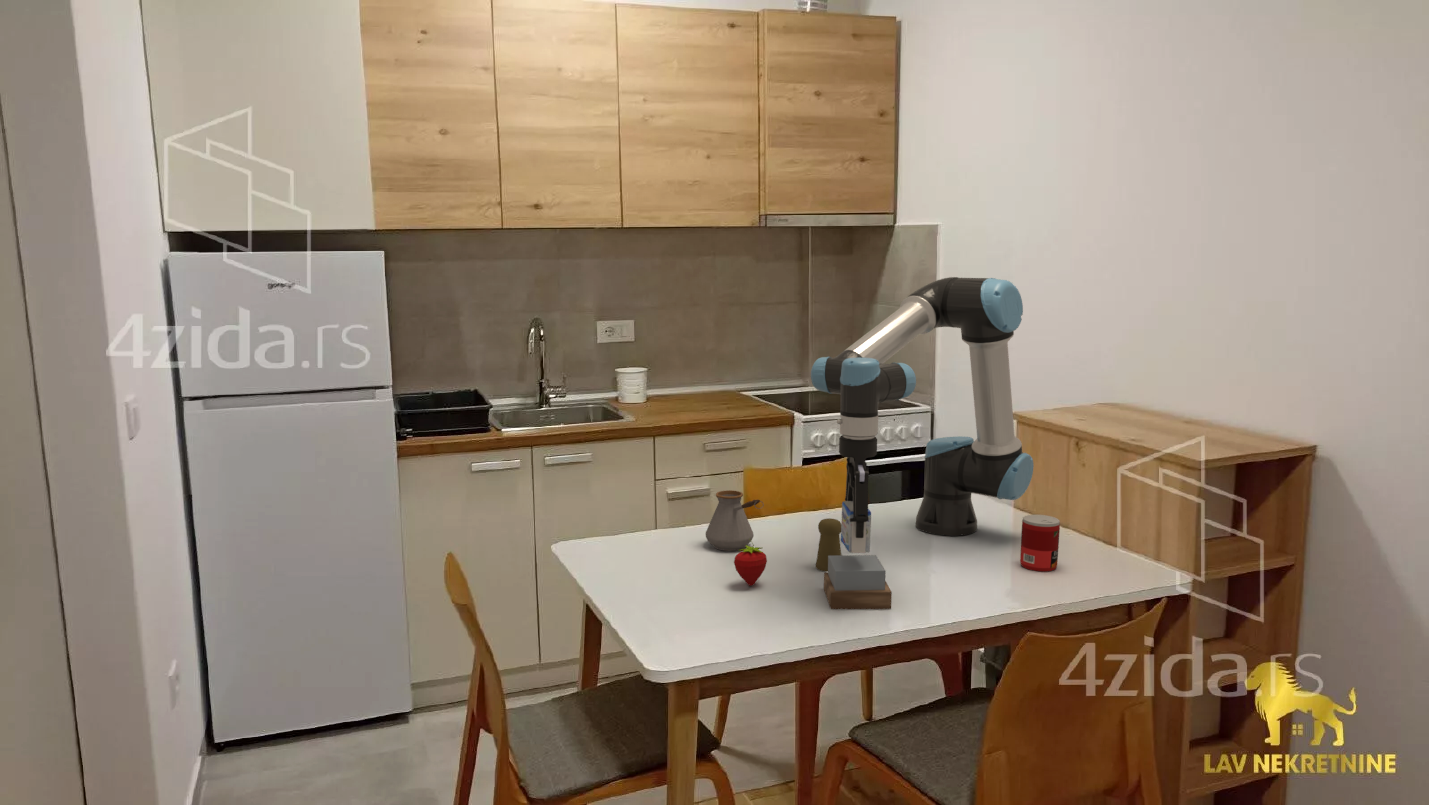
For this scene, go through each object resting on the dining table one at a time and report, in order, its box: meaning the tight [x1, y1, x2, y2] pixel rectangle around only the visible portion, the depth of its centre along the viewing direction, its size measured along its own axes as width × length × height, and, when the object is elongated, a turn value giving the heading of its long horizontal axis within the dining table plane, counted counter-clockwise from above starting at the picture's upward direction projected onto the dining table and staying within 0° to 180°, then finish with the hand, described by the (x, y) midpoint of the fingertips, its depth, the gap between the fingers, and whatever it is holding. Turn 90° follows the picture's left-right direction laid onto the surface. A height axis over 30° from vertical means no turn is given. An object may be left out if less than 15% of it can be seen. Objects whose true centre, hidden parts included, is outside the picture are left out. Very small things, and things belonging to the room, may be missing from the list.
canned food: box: [1019, 514, 1061, 573], centre depth 228 cm, size 8×8×11 cm
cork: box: [815, 518, 842, 573], centre depth 227 cm, size 6×6×11 cm
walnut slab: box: [823, 572, 893, 610], centre depth 208 cm, size 12×12×4 cm
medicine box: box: [840, 500, 872, 554], centre depth 206 cm, size 8×4×9 cm, turn 5°
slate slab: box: [827, 554, 887, 591], centre depth 208 cm, size 10×10×4 cm
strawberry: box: [733, 540, 768, 587], centre depth 215 cm, size 6×8×10 cm
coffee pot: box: [705, 490, 765, 552], centre depth 237 cm, size 21×12×15 cm, turn 25°
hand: (855, 545), depth 207 cm, fingers closed on medicine box, 8 cm apart
